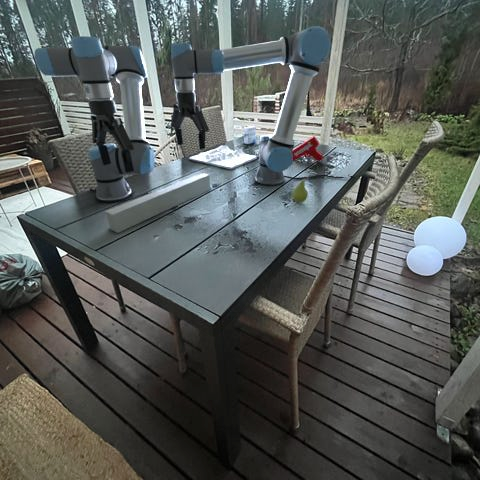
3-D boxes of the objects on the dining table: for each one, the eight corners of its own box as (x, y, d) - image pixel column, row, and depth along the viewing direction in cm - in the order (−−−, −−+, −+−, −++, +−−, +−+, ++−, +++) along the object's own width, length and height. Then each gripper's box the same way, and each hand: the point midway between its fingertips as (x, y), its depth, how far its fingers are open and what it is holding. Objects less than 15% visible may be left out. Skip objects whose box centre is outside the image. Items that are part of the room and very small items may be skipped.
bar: (203, 187, 137) (202, 172, 133) (210, 189, 135) (209, 174, 131) (110, 229, 102) (105, 211, 98) (117, 232, 100) (112, 214, 96)
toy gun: (327, 156, 170) (314, 135, 166) (326, 157, 167) (314, 136, 163) (301, 171, 180) (289, 151, 176) (301, 173, 177) (288, 153, 173)
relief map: (230, 169, 160) (230, 160, 157) (189, 159, 178) (188, 151, 175) (256, 158, 178) (256, 150, 176) (216, 150, 196) (216, 143, 193)
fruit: (288, 200, 123) (290, 174, 116) (302, 197, 125) (305, 172, 119) (296, 206, 118) (299, 179, 111) (310, 203, 120) (314, 177, 114)
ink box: (251, 141, 219) (251, 125, 213) (255, 142, 216) (255, 126, 210) (243, 143, 214) (243, 127, 208) (248, 144, 211) (248, 128, 205)
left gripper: (68, 98, 87) (88, 164, 98) (112, 103, 74) (130, 177, 86) (91, 96, 92) (108, 159, 103) (136, 100, 79) (149, 171, 91)
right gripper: (157, 90, 111) (165, 144, 122) (202, 93, 98) (206, 152, 110) (171, 89, 116) (177, 141, 127) (215, 92, 103) (218, 149, 115)
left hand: (118, 167), depth 95 cm, fingers open, 13 cm apart
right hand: (191, 146), depth 119 cm, fingers open, 13 cm apart
